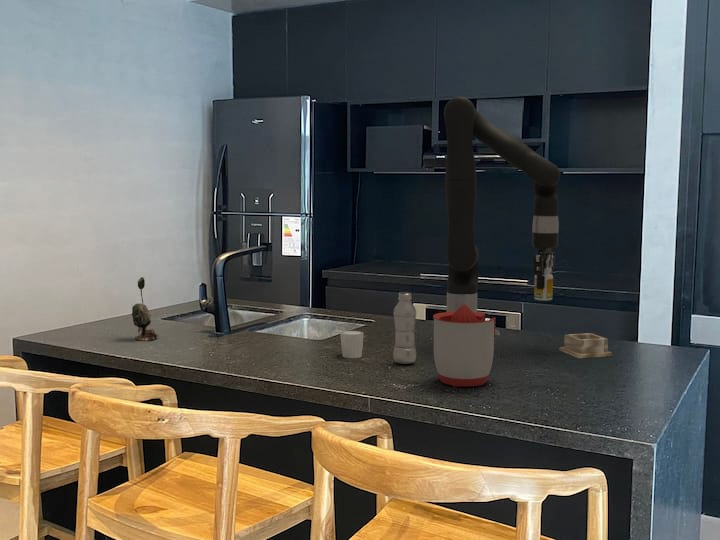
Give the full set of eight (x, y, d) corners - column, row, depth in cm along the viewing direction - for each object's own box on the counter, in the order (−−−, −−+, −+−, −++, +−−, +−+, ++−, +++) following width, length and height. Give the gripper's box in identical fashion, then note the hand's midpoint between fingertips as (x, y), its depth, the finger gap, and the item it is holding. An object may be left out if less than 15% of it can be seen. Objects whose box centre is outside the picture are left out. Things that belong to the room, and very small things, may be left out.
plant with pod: (124, 341, 245) (122, 279, 242) (144, 335, 255) (142, 275, 253) (146, 343, 242) (144, 280, 240) (165, 336, 253) (164, 276, 251)
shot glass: (367, 354, 226) (367, 331, 225) (357, 359, 219) (357, 335, 219) (346, 352, 228) (346, 329, 228) (336, 357, 222) (336, 333, 221)
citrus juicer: (511, 387, 189) (513, 307, 187) (446, 392, 185) (447, 310, 182) (483, 372, 204) (485, 298, 202) (423, 377, 199) (423, 301, 197)
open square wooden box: (578, 358, 221) (579, 341, 220) (559, 350, 231) (559, 334, 231) (612, 356, 223) (612, 339, 223) (591, 348, 234) (592, 332, 233)
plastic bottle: (418, 361, 216) (419, 291, 214) (412, 367, 210) (413, 295, 208) (397, 360, 219) (397, 290, 216) (390, 365, 212) (390, 294, 210)
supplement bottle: (551, 298, 231) (552, 266, 230) (553, 300, 226) (554, 268, 225) (532, 297, 232) (533, 265, 230) (535, 300, 226) (536, 267, 225)
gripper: (550, 232, 218) (548, 291, 220) (564, 230, 231) (562, 286, 233) (525, 231, 222) (523, 289, 224) (540, 229, 234) (538, 284, 236)
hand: (543, 287), depth 228 cm, fingers closed on supplement bottle, 5 cm apart
